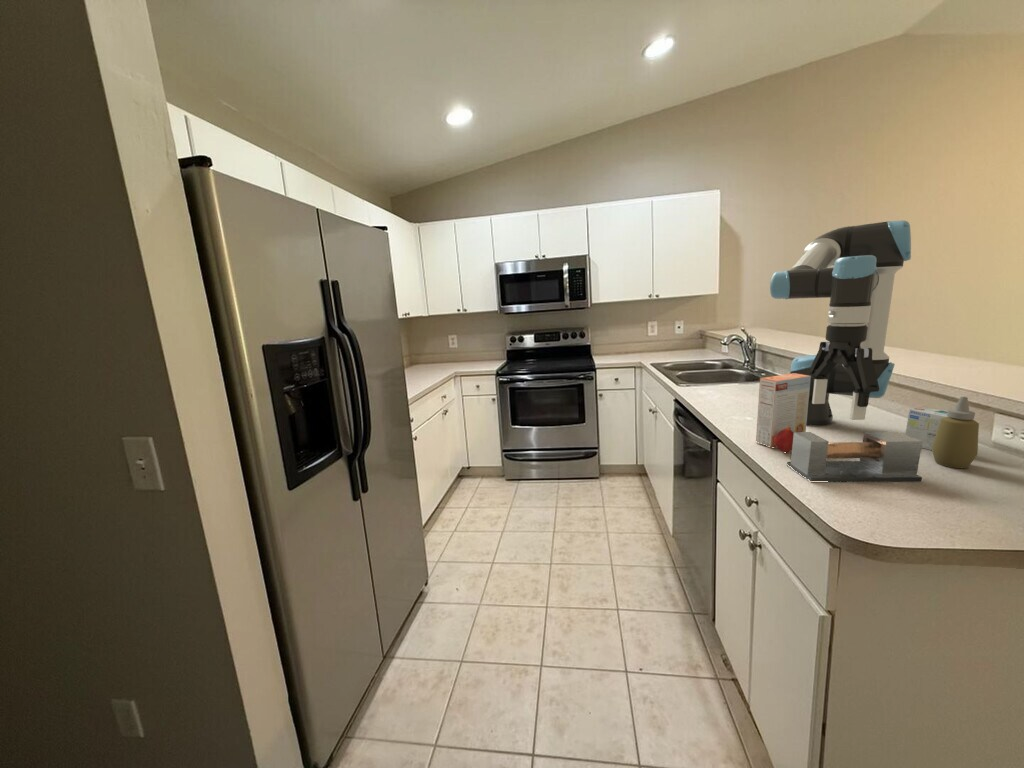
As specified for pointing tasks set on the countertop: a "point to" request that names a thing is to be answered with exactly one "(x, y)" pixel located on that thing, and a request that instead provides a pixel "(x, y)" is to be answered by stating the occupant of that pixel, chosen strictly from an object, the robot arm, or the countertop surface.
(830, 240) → the robot arm
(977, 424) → the squeeze bottle
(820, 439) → the jig
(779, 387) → the cracker box
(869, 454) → the copper tube
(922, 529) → the countertop surface
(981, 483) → the countertop surface
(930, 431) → the light bulb box
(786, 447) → the red round fruit
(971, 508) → the countertop surface
